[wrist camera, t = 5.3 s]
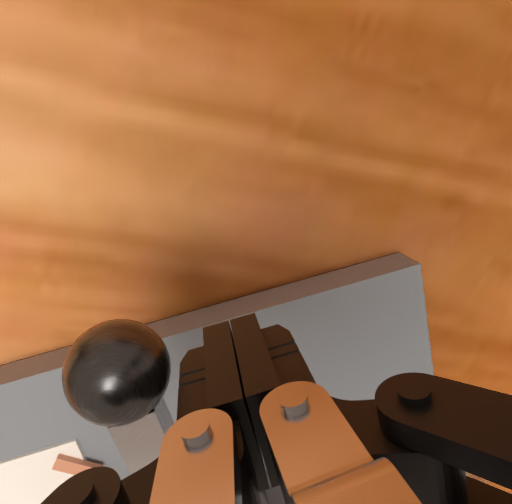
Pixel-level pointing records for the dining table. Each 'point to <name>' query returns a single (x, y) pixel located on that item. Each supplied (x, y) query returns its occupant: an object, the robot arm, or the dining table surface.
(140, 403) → the capstan
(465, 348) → the dining table surface
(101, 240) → the dining table surface
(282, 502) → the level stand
